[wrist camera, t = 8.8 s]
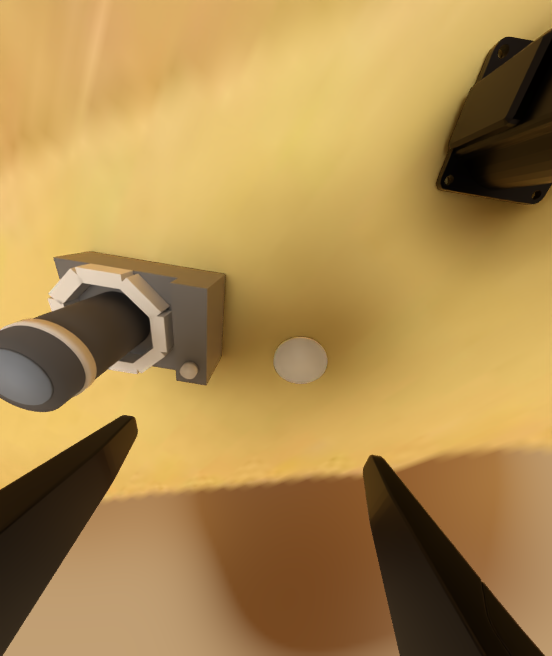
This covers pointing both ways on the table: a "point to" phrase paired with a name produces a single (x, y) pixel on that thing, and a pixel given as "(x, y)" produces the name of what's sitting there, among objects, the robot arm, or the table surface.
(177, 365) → the camera body
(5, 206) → the table surface
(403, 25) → the table surface
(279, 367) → the pale white disc
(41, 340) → the lens
